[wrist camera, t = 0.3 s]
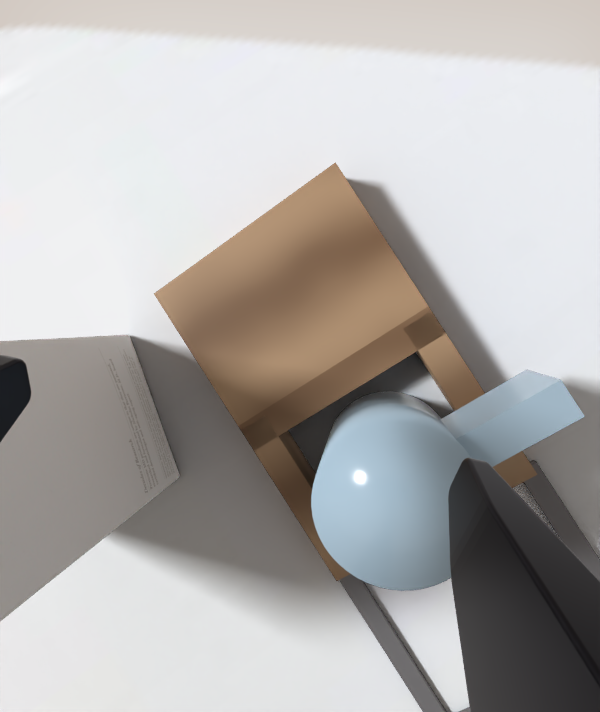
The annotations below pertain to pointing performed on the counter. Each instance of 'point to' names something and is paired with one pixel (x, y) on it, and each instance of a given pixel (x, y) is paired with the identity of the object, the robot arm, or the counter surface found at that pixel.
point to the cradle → (309, 328)
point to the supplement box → (75, 457)
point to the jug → (419, 473)
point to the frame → (390, 639)
